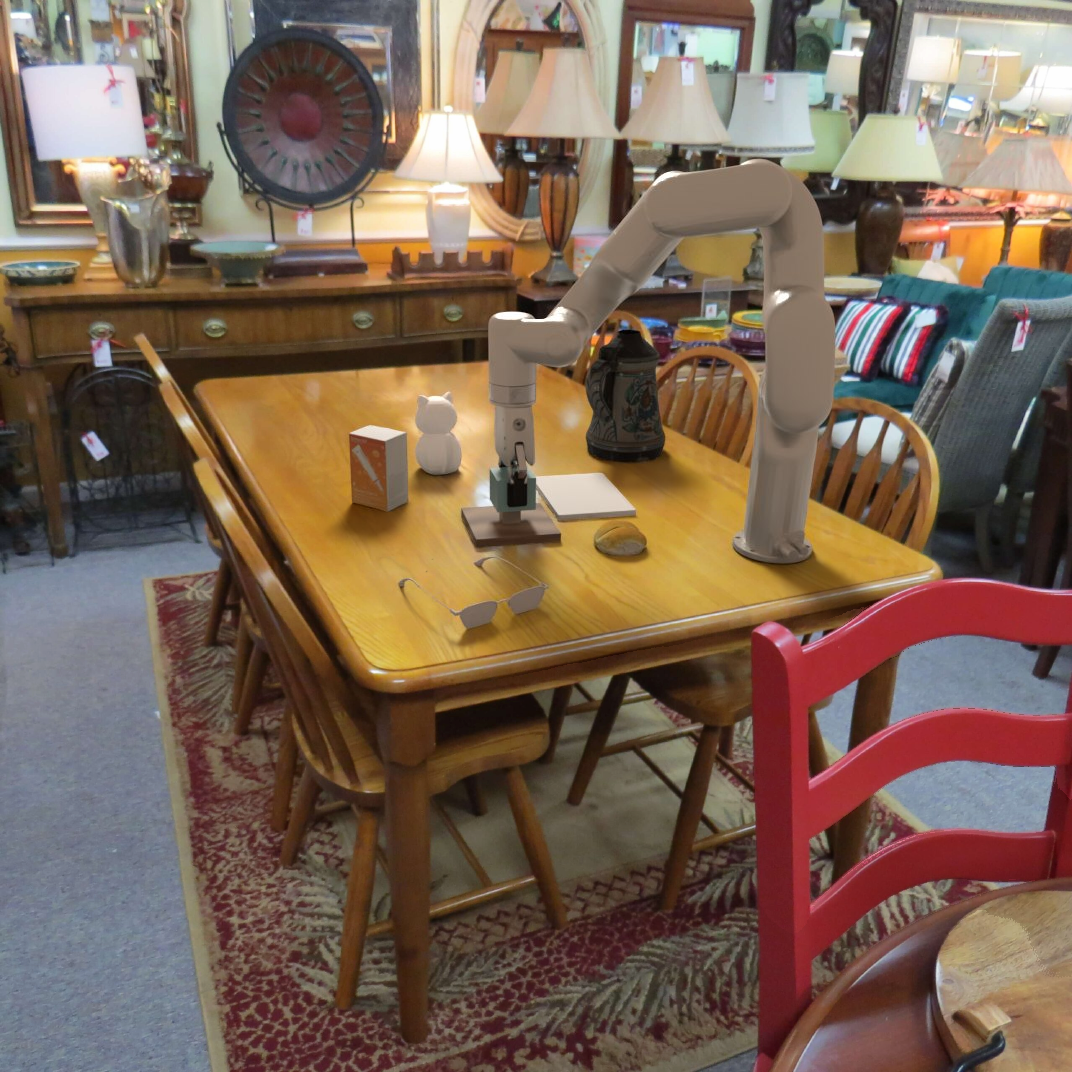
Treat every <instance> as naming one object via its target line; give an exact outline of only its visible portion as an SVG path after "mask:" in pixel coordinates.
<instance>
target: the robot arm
mask: <svg viewBox="0 0 1072 1072" xmlns="http://www.w3.org/2000/svg"><path fill="white" fill-rule="evenodd" d="M756 229H758V230H759V232H760V235H761V238H762V246H763V250H762V251H763V252H762V253H763V255H762V256H763V303H762V311H761V324H762V328H763V332H764V337H765V338H764V340H765V341H764V343H765V346H764V347H765V349H764V350H765V351H764V352H765V357H764V359H765V362H764V363H765V367H764V369H763V371H762V373H761V374H760V378H759V381H758V386H757V389H758V390H757V398H756V399H757V401H756V416H755V427H754V429H755V430H754V436H753V438H754V439H753V446H752V447H753V448H752V454H751V462H750V470H749V480H748V487H747V488H748V489H747V497H746V505H745V506H746V507H745V515H744V523H743V529H742V530H739V531H738V532H736V533H735V534H734V535H733V537H732V542H731V543H732V547H733V549H734V550H735V551H736V552H738V553H739V554H741V555H743V556H744V557H747V558H749V559H752V560H755V561H758V562H764V563H770V564H795V563H798V562H802V561H805V560H807V559H808V558H810V556H811V555H812V552H813V545H812V543H811V542H810V541H809V540H808V539H807V538H806V533H805V529H806V522H807V516H808V515H807V514H808V507H809V502H810V496H811V489H812V479H813V472H814V466H815V461H816V455H817V449H818V447H817V446H818V440H819V431H820V430H819V429H820V426H821V425H822V424H823V423H824V422H825V421H826V420H827V418H828V416H829V415H830V412H831V410H832V408H833V402H834V393H835V392H834V391H835V370H836V369H835V368H836V367H835V366H836V365H835V364H836V333H837V332H836V322H835V320H836V319H835V316H834V315H835V314H834V312H833V309H832V307H831V305H830V304H829V302H828V300H827V299H826V295H825V294H826V293H825V242H824V241H825V238H824V227H823V221H822V216H821V213H820V209H819V207H818V205H817V202H816V201H815V198H814V195H812V193H811V192H810V190H809V189H808V187H807V185H805V184H804V183H803V181H802V180H801V179H800V178H799V177H797V176H796V175H795V174H794V173H792V172H791V171H790V170H788V169H786V168H785V167H783V166H781V165H780V164H777V163H775V162H773V161H771V160H768V159H763V158H753V159H749V160H746V161H744V162H742V163H741V164H739V165H733V166H727V167H720V168H719V167H718V168H714V169H712V168H711V169H705V170H698V171H689V172H688V171H687V172H684V171H680V170H672V171H668V172H665V173H663V174H660V176H658V177H657V178H656V179H655V180H654V181H653V182H652V183H651V185H650V186H649V187H648V188H647V190H646V191H644V193H643V194H642V196H641V197H640V198H639V199H638V201H637V202H636V203H635V204H634V206H633V207H632V208H631V209H630V210H629V212H628V213H627V214H626V216H625V217H624V218H623V219H622V220H621V222H620V223H619V224H618V225H617V226H616V227H615V229H614V230H613V231H612V233H611V234H610V235H609V236H608V237H607V238H606V239H605V241H604V242H603V243H602V245H601V246H600V247H599V248H598V250H596V252H595V254H594V255H593V257H592V259H591V261H590V263H589V264H588V266H587V268H585V270H583V272H582V274H581V275H580V276H579V277H578V278H577V280H576V281H575V283H574V284H573V285H572V286H571V288H570V289H569V290H568V291H567V293H565V295H564V296H563V297H562V298H561V300H560V301H559V302H558V303H557V304H556V305H555V306H554V308H553V309H552V310H551V312H549V314H548V315H547V316H546V318H543V319H542V318H541V319H536V318H535V317H534V316H533V315H532V314H530V313H526V312H521V311H505V312H504V311H501V312H497V313H495V314H493V315H492V316H491V317H490V318H489V320H488V325H487V326H488V329H487V330H488V332H487V333H488V334H487V335H488V338H487V339H488V341H487V342H488V402H489V404H490V405H493V406H494V425H493V426H494V427H493V428H494V430H493V431H494V434H493V435H494V438H493V439H494V449H495V452H496V454H497V456H498V462H497V463H498V464H497V465H498V467H508V473H509V483H507V505H508V507H521V506H526V505H527V466H528V465H529V466H530V467H533V466H534V465H535V463H536V449H535V448H536V446H535V445H536V443H535V441H536V440H535V423H534V422H535V421H534V412H533V405H535V404H536V403H537V365H542V366H546V367H552V368H553V367H554V368H564V367H569V366H571V365H572V364H574V363H575V362H576V361H578V359H579V358H580V357H581V356H582V353H583V352H584V351H583V350H584V349H585V346H586V345H587V344H588V342H589V340H590V339H591V338H592V337H593V336H594V334H595V333H596V332H597V331H598V329H599V328H600V327H601V326H602V324H603V323H604V322H605V321H606V320H607V319H608V317H609V316H610V315H611V314H612V313H613V312H614V311H615V310H616V309H617V308H618V307H619V306H620V304H621V303H623V302H624V301H625V300H626V299H627V298H629V297H631V296H633V295H634V294H635V293H637V292H638V291H640V289H641V288H642V287H643V286H644V285H646V283H647V282H648V280H649V279H650V278H651V277H652V276H653V274H654V273H655V272H656V271H657V270H658V269H659V267H661V266H662V264H663V263H664V262H665V260H666V259H667V258H668V257H669V256H670V255H671V254H672V253H673V252H674V250H675V249H676V247H677V246H679V244H680V243H681V242H682V241H683V240H684V238H694V237H695V238H696V237H703V236H704V237H706V236H711V235H713V236H714V235H720V234H721V235H722V234H727V233H733V232H742V231H749V230H756ZM527 464H528V465H527ZM513 469H517V471H515V473H514V476H513Z"/></svg>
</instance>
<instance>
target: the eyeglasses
mask: <svg viewBox="0 0 1072 1072" xmlns="http://www.w3.org/2000/svg"><path fill="white" fill-rule="evenodd" d="M490 559H497V560H501V561H503V562H505V563H507V564H510V565H512V566H513V567H514V568H516V569H518V570H519V571H521V572H522V573H524V574H526V575H527V576H529V577H530V578H532V579H534V580H535V581H536V582H538V583H539V584H540V585H536V586H532V587H529V588H526V589H523V590H520V591H518V592H515V593H513V594H512V595H511V596H510V598H503V599H500V600H499V601H498V600H497V601H496V600H484V601H481V602H477V603H474V604H470V605H467V606H465V607H463V608H462V609H461V610H457V611H456V610H454V609H453V608H449V607H448V606H446V605H445V604H443V603H442V602H441V601H439V600H438V599H436V597H434V596H432V595H431V594H430V593H429V592H428V591H427V590H426V589H424V588H422V586H420V584H419V583H418V582H417V581H416V580H414V579H413V578H410V577H404V578H402V579H401V580H399V581H398V583H397V585H399V586H400V587H404V586H405V582H407V581H410V582H413V583H414V584H415V585H416V586H417V588H420V589H421V590H423V592H424V593H426V594H428V595H429V596H430V597H431V598H432V599H434V600H435V601H436V602H438V603H439V604H441V605H442V606H444V607H445V608H446V609H448V610H449V613H451V614H452V615H453V616H455V617H458V616H459V619H460V622H461V623H462V625H463V626H464V628H465V629H466V630H469V629H473V628H476V627H480V626H482V625H486V624H490V623H492V621H493V620H494V617H495V615H496V612H497V609H498V604H500V603H503V602H507V607H508V608H510V609H511V611H512V612H513V614H514V615H518V614H522V613H525V612H528V611H532V610H535V609H538V608H539V607H540V605H541V602H542V600H543V599H544V595H545V591H546V590H549V587H550V586H549V585H548V584H546V583H545V582H541V581H539V580H538V579H536V578H535V577H534V576H533V575H530V574H529V573H528V572H526V571H524V569H521V568H519V567H518V566H516V565H515V564H513V563H511V562H510V561H509V560H507V559H504V558H502V557H500V556H491V555H490V556H485V557H482V558H479V559H478V560H475V561H474V562H473V564H474V565H476V566H478V567H482V566H483V564H484V562H486V561H487V560H490Z"/></svg>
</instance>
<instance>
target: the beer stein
mask: <svg viewBox="0 0 1072 1072" xmlns="http://www.w3.org/2000/svg"><path fill="white" fill-rule="evenodd" d="M597 357H598V359H597V360H595V361H594V362H593V363H592V364H591V366H590V369H589V370H588V372H587V375H586V378H585V385H584V386H585V392H586V393H585V394H586V398H587V401H588V403H589V406H590V407H591V409H592V415H591V416H592V417H591V420H590V424H589V426H588V429H587V431H586V433H585V441H586V446H587V447H586V448H587V451H588V453H589V454H590V455H592V456H593V457H595V458H598V459H600V460H605V461H607V462H616V463H625V464H629V463H630V464H633V463H634V464H636V463H638V464H639V463H646V462H647V463H648V462H651V461H654V460H656V459H658V458H660V457H661V456H662V454H663V449H664V448H665V444H666V433H665V431H664V428H663V424H662V418H661V412H660V411H661V410H660V403H659V397H658V396H659V394H658V382H657V366H658V365H659V361H660V357H661V355H660V353H659V352H658V350H657V349H656V348H655V347H654V346H653V345H652V344H650V343H649V342H648V341H647V340H646V339H645V338H643V336H642V334H641V331H639V330H636V329H620V330H618V331H617V332H616V336H615V337H613V338H612V340H611V341H609V342H608V343H607V344H603V345H602V346H601V347H600V348H599V352H598V354H597Z"/></svg>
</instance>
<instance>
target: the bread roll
mask: <svg viewBox="0 0 1072 1072" xmlns="http://www.w3.org/2000/svg"><path fill="white" fill-rule="evenodd" d="M593 543H594V545H595V547H597V548H598V550H599V551H601V552H603V553H604V554H608V555H611V556H615V557H617V556H618V557H621V556H624V557H625V556H626V557H628V556H636V555H639V554H640V553H642V551H644V549H645V548H646V547H647V543H648V540H647V537H646V535H645V534H644V533H643V532H641V531H640V529H639V528H638V527H637V526H636V525H635V524H634V523H632V522H631V521H627V520H624V519H613V520H608V521H605V522H603V523H602V524H601V525H599V526H598V528H597V529H596V531H595V532H594V534H593Z"/></svg>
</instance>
